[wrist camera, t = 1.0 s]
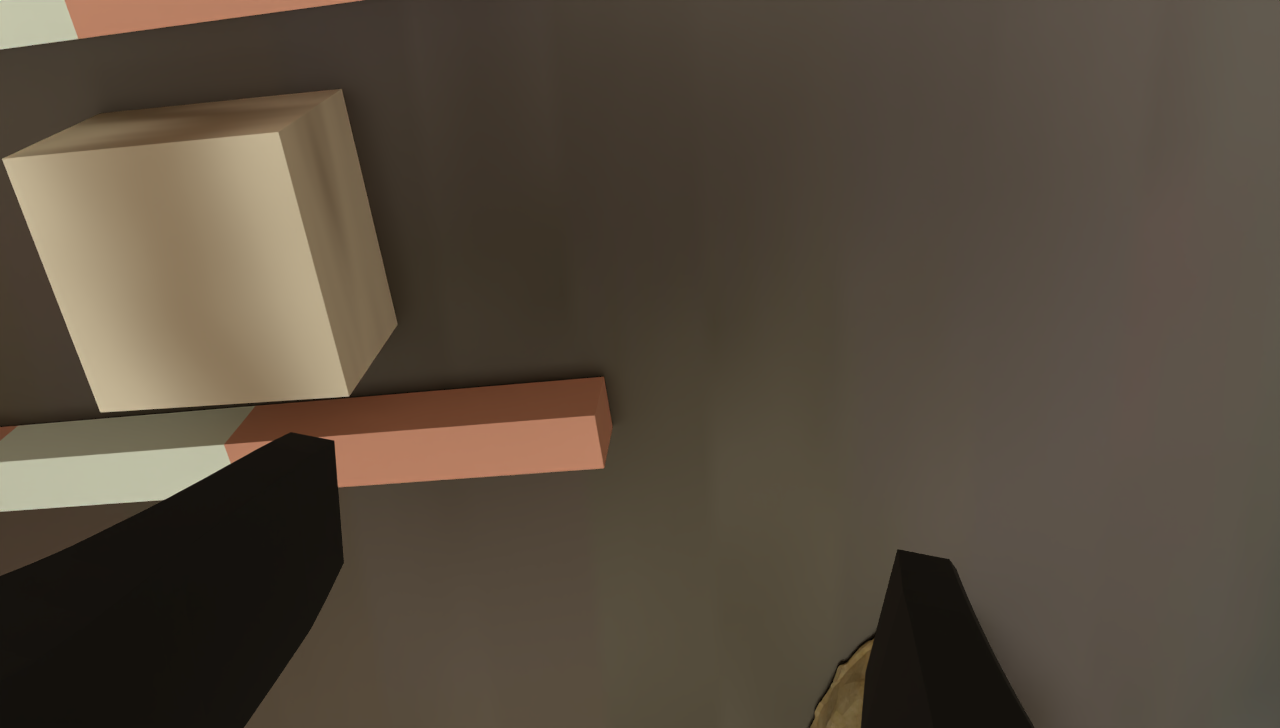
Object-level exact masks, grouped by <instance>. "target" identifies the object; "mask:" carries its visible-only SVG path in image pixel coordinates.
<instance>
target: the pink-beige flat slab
mask: <svg viewBox="0 0 1280 728" xmlns="http://www.w3.org/2000/svg"><path fill="white" fill-rule="evenodd" d="M354 1H362V0H0V49H8V48H15V47H22V46H30V45H37V44H44V43H52V42H59V41H67V40H74V39H81V38H89V37H96V36H103V35H111V34H118V33H126V32H133V31H140V30H148V29H155V28H162V27H170V26H177V25H185V24H192V23H199V22H207V21H214V20H221V19H229V18H236V17H244V16H251V15H258V14H266V13H273V12H280V11H288V10H295V9H303V8H310V7H317V6H325V5H332V4H339V3H347V2H354ZM612 428H613V427H612V421H611V415H610V409H609V403H608V397H607V391H606V385H605V380H604V377H594V378H582V379H570V380H558V381H546V382H534V383H522V384H510V385H498V386H486V387H474V388H462V389H450V390H438V391H426V392H414V393H402V394H390V395H378V396H366V397H354V398H342V399H331V400H319V401H307V402H295V403H283V404H271V405H259V406H247V407H235V408H223V409H211V410H199V411H187V412H175V413H163V414H151V415H139V416H127V417H115V418H103V419H91V420H79V421H67V422H55V423H43V424H31V425H19V426H7V427H0V512H2V511H16V510H30V509H44V508H58V507H72V506H86V505H100V504H114V503H128V502H142V501H156V500H165V499H167V498H169V497H171V496H173V495H174V494H176V493H178V492H180V491H182V490H184V489H185V488H187V487H189V486H191V485H193V484H195V483H197V482H198V481H200V480H202V479H204V478H206V477H208V476H209V475H211V474H213V473H215V472H217V471H218V470H220V469H222V468H224V467H226V466H227V465H229V464H231V463H233V462H235V461H236V460H238V459H240V458H242V457H244V456H246V455H247V454H249V453H251V452H253V451H255V450H256V449H258V448H260V447H262V446H264V445H266V444H268V443H270V442H272V441H273V440H275V439H277V438H279V437H282V436H284V435H286V434H288V433H290V432H293V433H298V434H303V435H308V436H313V437H319V438H324V439H329V440H334V442H335V455H336V468H337V481H338V487H350V486H364V485H378V484H392V483H406V482H420V481H434V480H448V479H462V478H476V477H489V476H503V475H517V474H531V473H545V472H559V471H573V470H587V469H601V468H604V466H605V461H606V456H607V452H608V447H609V442H610V437H611V432H612Z"/></svg>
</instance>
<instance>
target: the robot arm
mask: <svg viewBox="0 0 1280 728" xmlns="http://www.w3.org/2000/svg"><path fill="white" fill-rule="evenodd" d="M343 563H344V560H343V546H342V533H341V520H340V507H339V494H338V481H337V468H336V455H335V442H334V440H329V439H324V438H319V437H313V436H308V435H303V434H298V433H293V432H290V433H288V434H286V435H284V436H282V437H279V438H277V439H275V440H273V441H272V442H270V443H268V444H266V445H264V446H262V447H260V448H258V449H256V450H255V451H253V452H251V453H249V454H247V455H246V456H244V457H242V458H240V459H238V460H236V461H235V462H233V463H231V464H229V465H227V466H226V467H224V468H222V469H220V470H218V471H217V472H215V473H213V474H211V475H209V476H208V477H206V478H204V479H202V480H200V481H198V482H197V483H195V484H193V485H191V486H189V487H187V488H185V489H184V490H182V491H180V492H178V493H176V494H174V495H173V496H171V497H169V498H167V499H165V500H163V501H161V502H160V503H158V504H156V505H154V506H152V507H150V508H148V509H146V510H144V511H142V512H140V513H138V514H136V515H134V516H132V517H130V518H128V519H126V520H124V521H122V522H120V523H118V524H116V525H114V526H112V527H110V528H108V529H106V530H104V531H102V532H100V533H98V534H96V535H94V536H91V537H89V538H87V539H85V540H83V541H81V542H79V543H77V544H75V545H73V546H71V547H69V548H66V549H64V550H62V551H60V552H58V553H55V554H53V555H51V556H48V557H46V558H44V559H41V560H39V561H37V562H34V563H32V564H30V565H27V566H25V567H22V568H20V569H17V570H15V571H12V572H10V573H7V574H5V575H2V576H0V728H244V727H245V725H246V724H247V722H248V721H249V719H250V718H251V716H252V715H253V713H254V712H255V711H256V709H257V708H258V706H259V705H260V703H261V702H262V700H263V699H264V698H265V696H266V695H267V693H268V692H269V690H270V689H271V687H272V686H273V684H274V683H275V682H276V680H277V679H278V677H279V676H280V674H281V673H282V671H283V670H284V668H285V667H286V665H287V664H288V662H289V661H290V659H291V658H292V656H293V655H294V653H295V652H296V651H297V649H298V648H299V646H300V645H301V643H302V642H303V640H304V638H305V637H306V635H307V634H308V632H309V631H310V629H311V627H312V626H313V624H314V622H315V620H316V618H317V616H318V614H319V612H320V610H321V608H322V606H323V604H324V603H325V601H326V599H327V597H328V594H329V592H330V590H331V588H332V586H333V584H334V582H335V580H336V578H337V576H338V574H339V572H340V569H341V567H342V565H343ZM861 728H1034V726H1033V724H1032V723H1031V721H1030V719H1029V717H1028V716H1027V714H1026V712H1025V711H1024V709H1023V707H1022V705H1021V703H1020V702H1019V700H1018V698H1017V696H1016V694H1015V692H1014V690H1013V689H1012V687H1011V685H1010V683H1009V681H1008V679H1007V677H1006V676H1005V674H1004V672H1003V670H1002V668H1001V666H1000V664H999V662H998V661H997V659H996V657H995V655H994V653H993V651H992V649H991V647H990V645H989V642H988V640H987V638H986V636H985V634H984V632H983V630H982V628H981V626H980V624H979V621H978V619H977V617H976V615H975V613H974V610H973V608H972V606H971V604H970V601H969V599H968V597H967V594H966V592H965V590H964V587H963V585H962V582H961V580H960V577H959V575H958V572H957V570H956V568H955V567H954V565H953V564H952V562H951V561H950V560H949V559H945V558H940V557H934V556H929V555H924V554H919V553H914V552H908V551H903V550H897V553H896V557H895V561H894V565H893V569H892V572H891V576H890V580H889V584H888V588H887V592H886V595H885V599H884V603H883V607H882V611H881V615H880V618H879V622H878V626H877V630H876V634H875V638H874V641H873V645H872V649H871V653H870V657H869V660H868V664H867V668H866V672H865V683H864V695H863V707H862V719H861Z"/></svg>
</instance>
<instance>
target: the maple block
mask: <svg viewBox="0 0 1280 728" xmlns="http://www.w3.org/2000/svg"><path fill="white" fill-rule="evenodd" d="M2 160H3V163H4V165H5V168H6V170H7V173H8V176H9V178H10V181H11V183H12V186H13V189H14V191H15V194H16V196H17V199H18V201H19V204H20V207H21V209H22V212H23V214H24V217H25V219H26V222H27V225H28V227H29V230H30V232H31V235H32V237H33V240H34V243H35V245H36V248H37V250H38V253H39V256H40V258H41V261H42V263H43V266H44V268H45V271H46V274H47V276H48V279H49V281H50V284H51V286H52V289H53V292H54V294H55V297H56V299H57V302H58V304H59V307H60V310H61V312H62V315H63V317H64V320H65V323H66V325H67V328H68V330H69V333H70V335H71V338H72V341H73V343H74V346H75V348H76V351H77V353H78V356H79V359H80V361H81V364H82V366H83V369H84V371H85V374H86V377H87V379H88V382H89V384H90V387H91V389H92V392H93V395H94V397H95V400H96V402H97V405H98V408H99V410H100V412H115V411H131V410H147V409H162V408H178V407H193V406H209V405H225V404H240V403H256V402H272V401H287V400H303V399H319V398H334V397H349V396H350V395H351V393H352V392H353V390H354V389H355V387H356V386H357V384H358V383H359V381H360V380H361V378H362V377H363V375H364V374H365V372H366V371H367V370H368V368H369V367H370V365H371V364H372V362H373V361H374V359H375V358H376V356H377V355H378V353H379V352H380V350H381V349H382V347H383V346H384V344H385V343H386V341H387V340H388V338H389V337H390V335H391V334H392V332H393V331H394V329H395V328H396V326H397V325H398V324H397V319H396V315H395V311H394V307H393V303H392V298H391V294H390V290H389V286H388V281H387V277H386V273H385V269H384V265H383V260H382V256H381V252H380V248H379V244H378V239H377V235H376V231H375V227H374V223H373V218H372V214H371V210H370V206H369V202H368V197H367V193H366V189H365V185H364V181H363V176H362V172H361V168H360V164H359V160H358V155H357V151H356V147H355V143H354V138H353V134H352V130H351V126H350V122H349V117H348V113H347V109H346V105H345V101H344V96H343V92H342V89H334V90H324V91H314V92H305V93H295V94H285V95H275V96H265V97H256V98H246V99H236V100H226V101H216V102H207V103H197V104H187V105H177V106H167V107H158V108H148V109H138V110H128V111H118V112H109V113H100V114H98V115H95V116H93V117H91V118H89V119H87V120H85V121H83V122H80V123H78V124H76V125H74V126H72V127H70V128H67V129H65V130H63V131H61V132H59V133H57V134H55V135H52V136H50V137H48V138H46V139H44V140H42V141H39V142H37V143H35V144H33V145H31V146H29V147H27V148H24V149H22V150H20V151H18V152H16V153H14V154H11V155H9V156H7V157H5V158H3V159H2Z"/></svg>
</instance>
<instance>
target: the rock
mask: <svg viewBox="0 0 1280 728" xmlns="http://www.w3.org/2000/svg"><path fill="white" fill-rule="evenodd" d="M873 641H874V639H873V640H871V641H868V642H867V643H865V644H864V645H863V646H861V647H860V648H859V649H858V651H857V652H856V653H855V654H854V655H853V656H852V657H851V658H850V660H849V661H848V662H847V663H845V664H842V665H840V666H839V667H838V668H837V672H836V675H835V678H834V680H833V683H832V684H831V686H830V688H829V690H828V692H827V693H826V695H825V696H824V697H823V699H822V701H821V702H820V703H819V704H818V706H817V708H816V710H815V719H814V721H813V723H812V725H811V727H810V728H861V719H862V707H863V695H864V683H865V672H866V668H867V664H868V660H869V657H870V653H871V649H872V645H873Z"/></svg>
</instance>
